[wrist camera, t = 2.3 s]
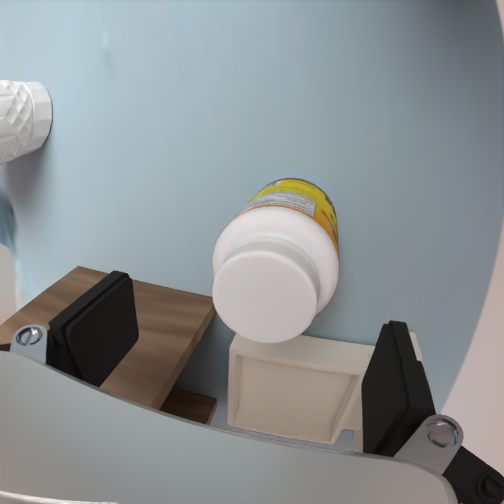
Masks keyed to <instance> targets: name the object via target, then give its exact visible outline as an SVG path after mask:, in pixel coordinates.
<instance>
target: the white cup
mask: <svg viewBox="0 0 504 504" xmlns="http://www.w3.org/2000/svg"><path fill="white" fill-rule="evenodd" d="M51 122H52V102H51V99H50V96H49V93H48V91H47V89H46V88H45V87H44V86H43V85H42V84H40V83H39V82H16V81H13V80H11V81H8V80H0V165H1V164H3V163H6V162H8V161H11V160H13V159H15V158H17V157H19V156H22V155H25V154H28V153H31V152H33V151H35V150H37V149H38V148H40V147H41V146H42V145H43V143H44V142H45V140H46V138H47V136H48V135H49V131H50V127H51Z"/></svg>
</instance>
